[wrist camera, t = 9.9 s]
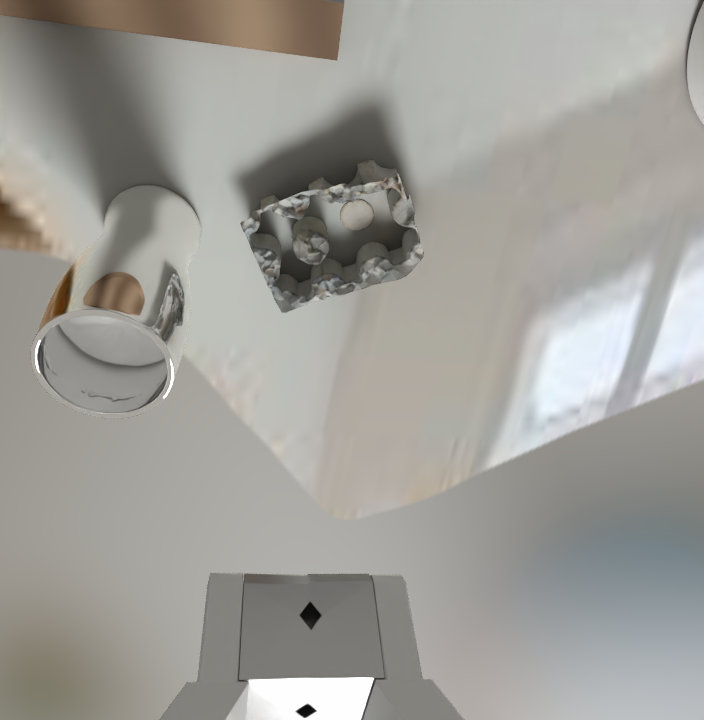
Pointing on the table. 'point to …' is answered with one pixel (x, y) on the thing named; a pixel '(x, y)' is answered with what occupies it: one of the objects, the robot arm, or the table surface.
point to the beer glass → (122, 309)
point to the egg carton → (314, 245)
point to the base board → (204, 21)
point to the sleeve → (339, 0)
